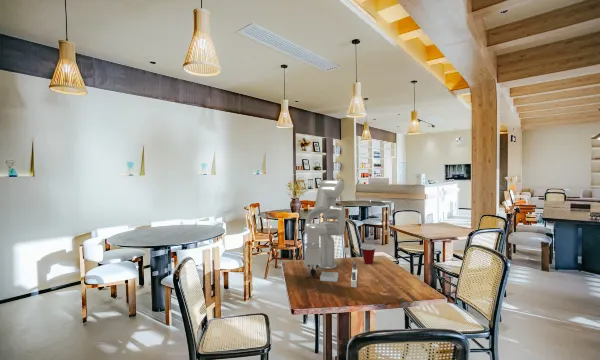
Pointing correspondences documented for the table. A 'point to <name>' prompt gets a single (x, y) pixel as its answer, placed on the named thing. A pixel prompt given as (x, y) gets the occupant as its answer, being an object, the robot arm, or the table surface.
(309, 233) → the robot arm
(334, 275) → the metal plate
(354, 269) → the bar
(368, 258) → the plastic cup
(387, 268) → the table surface
